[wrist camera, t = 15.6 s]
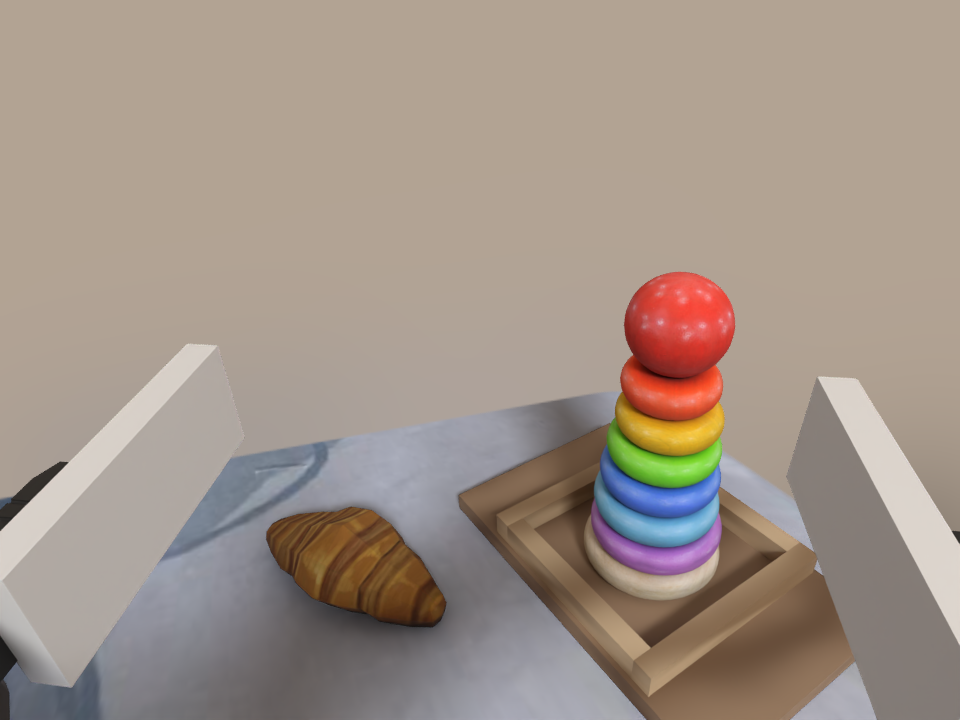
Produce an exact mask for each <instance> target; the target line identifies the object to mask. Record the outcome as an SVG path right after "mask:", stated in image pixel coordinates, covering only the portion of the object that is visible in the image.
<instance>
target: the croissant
mask: <svg viewBox="0 0 960 720" xmlns="http://www.w3.org/2000/svg"><path fill="white" fill-rule="evenodd" d="M266 540H267V542H268V545H269V548H270V550H271V553H272V554H273V556H274V558H275V560H276V561H277V563H278V565H279V566H280V568H281V569H282V570H284V571H285V572H287V573H288V574H290V575H291V576H293V578H294V580H295V582H296V583H297V584H298V585H299V586H300V587H301V588H302V589H303V590H304V591H305V592H306V593H307V594H308V595H309V596H311V597H312V598H313V599H316V600H318V601H321V602H323V603H326V604H328V605H331V606H335V607H338V608H341V609H345V610H348V611H351V612H357V613H364V614H369V615H371V616H372V617H374V618H375V619H377V620H378V621H381V622H387V623H392V624H398V625H404V626H409V627H433V626H435V625H436V624H437V623H438V622H439V621H440V620H441V618H442V615H443V613H444V611H445V607H446V601H445V599H444V596H443V595H442V593H441V592H440V590H439V589H438V587H437V585H436V583H435V581H434V580H433V578H432V577H431V575H430V573H429V572H428V570H427V568H426V567H425V565H424V563H423V562H422V560H421V558H420V557H419V556H418V555H417V554H415V553H414V552H413V551H412V550H411V549H410V548H408V547H407V546H406V545H405V543H404V541H403V539H402V537H401V536H400V535H399V533H398V532H397V531H396V530H395V529H394V527H393V526H392V525H391V524H390V523H389V522H387V521H386V520H385V519H383V518H382V517H380V516H379V515H378V514H376V513H375V512H373V511H372V510H367V509H361V508H356V507H349V508H346V509H343V510H341V511H338V512H317V513H305V514H297V515H294V516H290V517H287V518H283V519H280V520H278V521H277V522H275V523H273V524H272V525H271V526H270V528H269V529H268V531H267V534H266Z"/></svg>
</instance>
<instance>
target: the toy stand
mask: <svg viewBox="0 0 960 720" xmlns="http://www.w3.org/2000/svg"><path fill="white" fill-rule="evenodd" d="M609 426H610V423H609V424H607V425H605V426H603V427H601V428H599V429H596V430H594V431H592V432H590V433H588V434H586V435H584V436H582V437H580V438H578V439H575V440H573V441H571V442H569V443H567V444H565V445H563V446H561V447H559V448H557V449H554V450H552V451H550V452H548V453H546V454H544V455H542V456H540V457H538V458H536V459H534V460H531V461H529V462H527V463H525V464H523V465H521V466H519V467H517V468H515V469H513V470H510V471H508V472H506V473H504V474H502V475H500V476H498V477H496V478H494V479H492V480H489V481H487V482H485V483H483V484H481V485H479V486H477V487H475V488H473V489H471V490H469V491H466V492H464V493H462V494H460V495H459V505H460V509H461V510H462V511H463V512H464V513H465V514H466V515H467V517H468V518H469V519H470V520H471V521H472V522H473V523H474V525H475V526H476V527H477V528H478V529H479V530H480V531H481V532H482V534H483V535H484V536H485V537H486V538H487V539H488V540H489V542H490V543H491V544H492V545H493V546H494V547H495V548H496V549H497V551H498V552H499V553H500V554H501V555H502V556H503V557H504V558H505V560H506V561H507V562H508V563H509V564H510V565H511V566H512V568H513V569H514V570H515V571H516V572H517V573H518V574H519V575H520V577H521V578H522V579H523V580H524V581H525V582H526V583H527V585H528V586H529V587H530V588H531V589H532V590H533V591H534V592H535V594H536V595H537V596H538V597H539V598H540V599H541V600H542V602H543V603H544V604H545V605H546V606H547V607H548V608H549V609H550V611H551V612H552V613H553V614H554V615H555V616H556V617H557V619H558V620H559V621H560V622H561V623H562V624H563V625H564V626H565V628H566V629H567V630H568V631H569V632H570V633H571V634H572V636H573V637H574V638H575V639H576V640H577V641H578V642H579V643H580V645H581V646H582V647H583V648H584V649H585V650H586V651H587V653H588V654H589V655H590V656H591V657H592V658H593V659H594V660H595V662H596V663H597V664H598V665H599V666H600V667H601V668H602V670H603V671H604V672H605V673H606V674H607V675H608V676H609V677H610V679H611V680H612V681H613V682H614V683H615V684H616V685H617V687H618V688H619V689H620V690H621V691H622V692H623V693H624V694H625V696H626V697H627V698H628V699H629V700H630V701H631V702H632V703H633V705H634V706H635V707H636V708H637V709H638V710H639V711H640V713H641V714H642V715H643V716H644V717H645V718H646V719H647V720H790V719H791V718H792V717H793V716H794V715H795V714H797V713H798V712H799V711H800V710H801V709H802V708H803V707H804V706H805V705H807V704H808V703H809V702H810V701H811V700H812V699H813V698H814V697H815V696H817V695H818V694H819V693H820V692H821V691H822V690H823V689H824V688H825V687H827V686H828V685H829V684H830V683H831V682H832V681H833V680H834V679H836V678H837V677H838V676H839V675H840V674H841V673H842V672H843V671H844V670H846V669H847V668H848V667H849V666H850V665H851V664H852V663H853V662H854V661H855V659H854V656H853V653H852V651H851V648H850V645H849V643H848V640H847V637H846V635H845V632H844V629H843V627H842V624H841V621H840V619H839V616H838V613H837V611H836V608H835V605H834V603H833V600H832V597H831V595H830V592H829V589H828V586H827V584H826V581H825V578H824V576H823V575H821V574H820V573H818V572H817V571H816V570H814V568H815V565H816V562H817V557H816V554H815V552H813V551H812V550H810V549H809V548H807V547H806V546H805V545H803V544H802V543H800V542H799V541H797V540H796V539H794V538H793V537H792V536H790V535H789V534H787V533H786V532H784V531H783V530H781V529H780V528H779V527H777V526H776V525H774V524H773V523H771V522H770V521H769V520H767V519H766V518H764V517H763V516H761V515H760V514H758V513H757V512H756V511H754V510H753V509H751V508H750V507H748V506H747V505H746V504H744V503H743V502H741V501H740V500H738V499H737V498H735V497H734V496H733V495H731V494H730V493H728V492H727V491H725V490H724V489H723V488H721V487H719V490H718V496H719V515H720V519H721V524H722V534H721V539H720V543H719V561H718V566H717V569H716V571H715V573H714V575H713V577H712V578H711V580H710V581H709V582H708V583H707V584H706V585H705V586H704V587H703V588H701V589H700V590H698V591H697V592H695V593H693V594H691V595H688V596H686V597H683V598H679V599H673V600H660V601H659V600H649V599H643V598H639V597H635V596H632V595H629V594H627V593H625V592H623V591H621V590H619V589H617V588H615V587H614V586H612V585H611V584H610V583H608V582H607V581H606V580H605V579H604V578H603V577H602V576H600V574H599V573H598V572H597V571H596V570H595V568H594V567H593V565H592V564H591V562H590V560H589V558H588V556H587V553H586V550H585V546H584V530H585V526H586V523H587V520H588V518H589V516H590V515H591V509H592V504H593V501H594V498H595V496H594V485H595V480H596V477H597V475H598V473H599V471H600V459H601V455H602V452H603V450H604V448H605V446H606V445H607V432H608V429H609Z"/></svg>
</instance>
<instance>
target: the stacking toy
mask: <svg viewBox="0 0 960 720" xmlns="http://www.w3.org/2000/svg"><path fill="white" fill-rule="evenodd" d="M624 327H625V336H626V340H627V343H628V345H629V347H630V349H631V351H632V353H633V356H631V357H630V358H629V359H628V361H627V362H626V363H625V365H624V367H623V369H622V372H621V377H620V381H621V387H622V393H621V394H620V396H619V397H618V400H617V402H616V406H615V418H614V419H613V421H612V422H611V424H610V426H609V429H608V432H607V445H606V446H605V448H604V450H603V452H602V455H601V459H600V471H599V473H598V475H597V477H596V480H595V485H594V496H595V498H594V501H593V504H592V509H591V515H590V516H589V518H588V520H587V523H586V526H585V530H584V546H585V550H586V553H587V556H588V558H589V560H590V562H591V564H592V565H593V567H594V568H595V570H596V571H597V572H598V573H599V574H600V576H602V577H603V578H604V579H605V580H606V581H607V582H608V583H610V584H611V585H612V586H614V587H615V588H617V589H619V590H621V591H623V592H625V593H627V594H629V595H632V596H635V597H639V598H643V599H649V600H659V601H660V600H673V599H679V598H683V597H686V596H688V595H691V594H693V593H695V592H697V591H698V590H700V589H701V588H703V587H704V586H705V585H706V584H707V583H708V582H709V581H710V580H711V578H712V577H713V575H714V573H715V571H716V569H717V566H718V561H719V543H720V539H721V534H722V524H721V519H720V515H719V496H718V490H719V487H720V482H721V472H720V467H719V462H720V459H721V455H722V443H721V439H720V435H721V433H722V431H723V427H724V412H723V409H722V406H721V404H720V403H719V399H720V397H721V395H722V391H723V380H722V376H721V373H720V371H719V370H718V368H717V367H716V363H717V362H718V361H719V360H720V359H721V358H722V357H723V356H724V354H725V353H726V352H727V350H728V348H729V347H730V344H731V341H732V338H733V335H734V330H735V318H734V312H733V308H732V305H731V303H730V301H729V299H728V297H727V296H726V294H725V293H724V292H723V291H722V289H721V288H719V286H717V285H716V284H715V283H714V282H712V281H711V280H709V279H707V278H705V277H703V276H700V275H697V274H694V273H687V272H672V273H667V274H663V275H660V276H658V277H655V278H653V279H652V280H650V281H648V282H647V283H645V284H644V285H643V286H642V287H641V288H640V289H639V290H638V291H637V292H636V293H635V294H634V296H633V298H632V299H631V301H630V303H629V305H628V308H627V310H626V314H625V322H624Z"/></svg>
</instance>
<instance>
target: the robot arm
mask: <svg viewBox="0 0 960 720" xmlns="http://www.w3.org/2000/svg"><path fill="white" fill-rule="evenodd" d="M244 438H245V437H244V434H243V431H242V427H241V423H240V420H239V416H238V413H237V410H236V406H235V403H234V399H233V396H232V392H231V389H230V385H229V382H228V378H227V375H226V371H225V368H224V364H223V361H222V357H221V354H220V351H219V347H218V345H200V344H187V345H186V346H185V347H184V348H183V349H182V350H181V351H180V352H179V353H178V354H177V355H176V356H175V357H174V358H173V359H172V360H171V361H170V362H169V363H168V364H167V365H166V366H165V367H164V368H163V369H162V370H161V371H160V372H159V373H158V374H157V375H156V376H155V377H154V378H153V379H152V380H151V381H150V382H149V383H148V384H147V385H146V386H145V387H144V388H143V389H142V390H141V391H140V392H139V393H138V394H137V395H136V396H135V397H134V398H133V399H132V400H131V401H130V402H129V403H128V404H127V405H126V406H125V407H124V408H123V409H122V410H121V411H120V412H119V413H118V414H117V415H116V416H115V417H114V418H113V419H112V420H111V421H110V422H109V423H108V424H107V425H106V426H105V427H104V428H103V429H102V430H101V431H100V432H99V433H98V434H97V435H96V436H95V437H94V438H93V439H92V440H91V441H90V442H89V443H88V444H87V445H86V446H85V447H84V448H83V449H82V450H81V451H80V452H79V453H78V454H77V455H76V456H75V457H74V458H73V459H72V460H71V461H70V462H59V463H57V464H56V465H54V466H52V467H51V468H49V469H48V470H46V471H44V472H43V473H41V474H39V475H38V476H36V477H34V478H33V479H32V480H31V481H30V482H29V483H28V484H26V485H25V486H24V487H23V488H22V490H20V491H19V492H18V493H17V494H16V495H15V496H14V497H13V498H12V499H11V503H7V504H6V505H5V506H4V507H3V508H2V509H1V510H0V720H10V708H9V691H8V688H7V685H6V683H5V682H4V680H3V678H4V677H5V676H6V675H7V673H8V672H9V671H10V670H11V668H12V667H13V666H14V665H15V663H16V662H17V663H18V665H19V666H20V667H21V669H22V670H23V672H24V673H25V675H26V676H27V677H28V679H29V680H30V682H32V683H39V684H47V685H55V686H62V687H70V688H72V686H73V685H74V684H75V682H76V681H77V679H78V678H79V676H80V675H81V673H82V672H83V671H84V669H85V668H86V666H87V665H88V663H89V662H90V660H91V659H92V658H93V656H94V655H95V653H96V652H97V650H98V649H99V647H100V646H101V645H102V643H103V642H104V640H105V639H106V637H107V636H108V634H109V633H110V632H111V630H112V629H113V627H114V626H115V624H116V623H117V621H118V620H119V619H120V617H121V616H122V614H123V613H124V611H125V610H126V608H127V607H128V606H129V604H130V603H131V601H132V600H133V598H134V597H135V595H136V594H137V593H138V591H139V590H140V588H141V587H142V585H143V584H144V582H145V581H146V580H147V578H148V577H149V575H150V574H151V572H152V571H153V569H154V568H155V567H156V565H157V564H158V562H159V561H160V559H161V558H162V556H163V555H164V554H165V552H166V551H167V549H168V548H169V546H170V545H171V543H172V542H173V541H174V539H175V538H176V536H177V535H178V533H179V532H180V530H181V529H182V528H183V526H184V525H185V523H186V522H187V520H188V519H189V517H190V516H191V515H192V513H193V512H194V510H195V509H196V507H197V506H198V504H199V503H200V502H201V500H202V499H203V497H204V496H205V494H206V493H207V491H208V490H209V489H210V487H211V486H212V484H213V483H214V481H215V480H216V478H217V477H218V476H219V474H220V473H221V471H222V470H223V468H224V467H225V465H226V464H227V463H228V461H229V460H230V458H231V457H232V455H233V454H234V452H235V451H236V450H237V448H238V447H239V445H240V444H241V442H242V441H243V439H244ZM786 477H787V479H788V482H789V485H790V487H791V490H792V493H793V495H794V498H795V501H796V504H797V506H798V509H799V512H800V514H801V517H802V520H803V522H804V525H805V528H806V530H807V533H808V536H809V538H810V541H811V544H812V546H813V549H814V552H815V554H816V557H817V560H818V562H819V565H820V568H821V570H822V573H823V576H824V578H825V581H826V584H827V586H828V589H829V592H830V595H831V597H832V600H833V603H834V605H835V608H836V611H837V613H838V616H839V619H840V621H841V624H842V627H843V629H844V632H845V635H846V637H847V640H848V643H849V645H850V648H851V651H852V653H853V656H854V659H855V661H856V664H857V667H858V669H859V672H860V675H861V677H862V680H863V683H864V686H865V688H866V691H867V694H868V696H869V699H870V702H871V704H872V707H873V710H874V712H875V715H876V718H877V720H960V532H958V531H951V530H950V528H949V526H948V525H947V523H946V522H945V520H944V518H943V517H942V515H941V514H940V512H939V510H938V509H937V507H936V505H935V504H934V502H933V501H932V499H931V497H930V496H929V494H928V493H927V491H926V489H925V488H924V486H923V484H922V483H921V481H920V480H919V478H918V476H917V475H916V473H915V472H914V470H913V468H912V467H911V465H910V464H909V462H908V460H907V459H906V457H905V455H904V454H903V452H902V451H901V449H900V447H899V446H898V444H897V443H896V441H895V440H894V438H893V436H892V434H891V433H890V431H889V430H888V428H887V426H886V425H885V423H884V422H883V420H882V418H881V417H880V415H879V413H878V412H877V410H876V409H875V407H874V405H873V404H872V402H871V401H870V399H869V397H868V396H867V394H866V392H865V391H864V389H863V388H862V386H861V384H860V383H859V381H858V380H857V379H855V378H836V377H817V379H816V382H815V385H814V388H813V392H812V395H811V398H810V402H809V405H808V408H807V411H806V414H805V418H804V421H803V424H802V427H801V431H800V434H799V437H798V440H797V444H796V447H795V450H794V454H793V457H792V460H791V463H790V466H789V470H788V473H787V476H786Z"/></svg>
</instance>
